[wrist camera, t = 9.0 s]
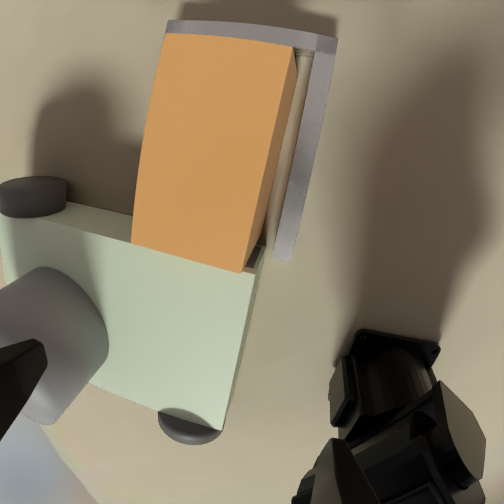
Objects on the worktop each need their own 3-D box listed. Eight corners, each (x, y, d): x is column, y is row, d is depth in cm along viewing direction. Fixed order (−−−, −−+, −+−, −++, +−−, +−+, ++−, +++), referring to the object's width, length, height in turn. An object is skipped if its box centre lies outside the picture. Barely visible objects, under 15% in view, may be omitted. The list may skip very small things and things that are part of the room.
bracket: (335, 46, 14) (338, 38, 13) (291, 252, 19) (290, 262, 17) (178, 27, 15) (168, 20, 14) (147, 219, 19) (136, 225, 18)
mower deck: (271, 220, 18) (232, 310, 9) (230, 405, 24) (196, 510, 14) (34, 173, 20) (-73, 206, 10) (48, 336, 25) (-18, 399, 16)
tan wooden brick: (298, 73, 15) (294, 41, 10) (261, 232, 19) (240, 274, 13) (210, 58, 16) (167, 28, 10) (180, 211, 19) (130, 243, 13)
